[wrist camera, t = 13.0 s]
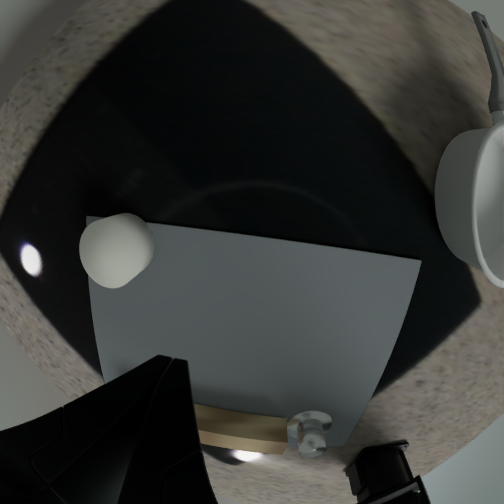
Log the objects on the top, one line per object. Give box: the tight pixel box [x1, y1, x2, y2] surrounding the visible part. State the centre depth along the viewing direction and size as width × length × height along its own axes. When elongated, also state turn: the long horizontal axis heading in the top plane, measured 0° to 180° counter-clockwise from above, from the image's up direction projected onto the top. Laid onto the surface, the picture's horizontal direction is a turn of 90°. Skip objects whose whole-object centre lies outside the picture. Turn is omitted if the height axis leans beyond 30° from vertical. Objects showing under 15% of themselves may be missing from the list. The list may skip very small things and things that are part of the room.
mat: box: [86, 216, 421, 447], centre depth 21 cm, size 25×21×1 cm
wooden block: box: [194, 403, 288, 454], centre depth 21 cm, size 13×2×3 cm, turn 80°
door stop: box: [79, 213, 155, 288], centre depth 17 cm, size 4×4×3 cm
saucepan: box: [435, 11, 504, 288], centre depth 13 cm, size 12×20×6 cm, turn 8°
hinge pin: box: [287, 410, 332, 458], centre depth 21 cm, size 4×4×4 cm
